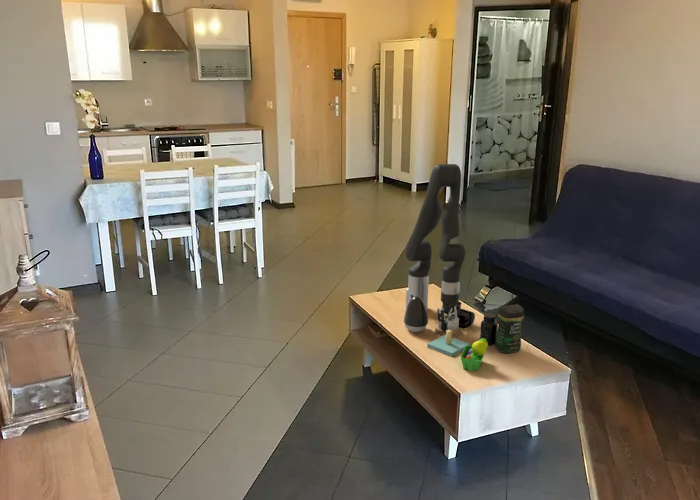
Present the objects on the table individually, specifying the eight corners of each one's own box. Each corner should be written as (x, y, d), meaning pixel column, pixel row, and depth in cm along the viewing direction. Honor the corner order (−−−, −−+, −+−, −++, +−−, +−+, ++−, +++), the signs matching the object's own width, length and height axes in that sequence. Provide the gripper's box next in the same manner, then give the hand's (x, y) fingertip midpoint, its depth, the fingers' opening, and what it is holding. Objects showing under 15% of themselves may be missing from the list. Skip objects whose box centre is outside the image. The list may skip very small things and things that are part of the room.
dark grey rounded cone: (420, 323, 255) (421, 291, 251) (431, 332, 246) (433, 299, 242) (399, 326, 252) (400, 294, 248) (410, 336, 243) (411, 302, 238)
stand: (434, 333, 246) (435, 317, 244) (445, 327, 251) (446, 312, 249) (450, 338, 240) (451, 323, 238) (461, 333, 246) (462, 317, 244)
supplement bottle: (485, 337, 242) (487, 310, 238) (500, 342, 237) (502, 315, 234) (476, 342, 237) (478, 315, 234) (490, 347, 232) (492, 320, 229)
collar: (438, 328, 245) (438, 317, 244) (446, 324, 249) (447, 313, 248) (450, 333, 241) (450, 321, 240) (458, 328, 245) (459, 317, 244)
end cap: (474, 324, 254) (475, 310, 252) (465, 329, 249) (466, 315, 248) (455, 318, 261) (456, 304, 259) (446, 323, 256) (447, 308, 254)
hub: (427, 347, 233) (427, 331, 231) (445, 338, 241) (445, 322, 239) (452, 356, 225) (453, 340, 223) (469, 347, 233) (470, 331, 231)
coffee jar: (503, 355, 226) (506, 311, 221) (491, 347, 233) (495, 303, 228) (524, 351, 229) (528, 307, 224) (512, 343, 236) (516, 300, 231)
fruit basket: (465, 357, 225) (467, 330, 221) (488, 361, 221) (490, 333, 218) (459, 369, 214) (460, 342, 211) (483, 374, 211) (485, 346, 208)
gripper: (452, 284, 248) (451, 320, 252) (432, 292, 238) (430, 330, 243) (467, 288, 243) (465, 325, 247) (447, 297, 233) (445, 335, 238)
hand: (448, 328), depth 245 cm, fingers closed on collar, 6 cm apart
